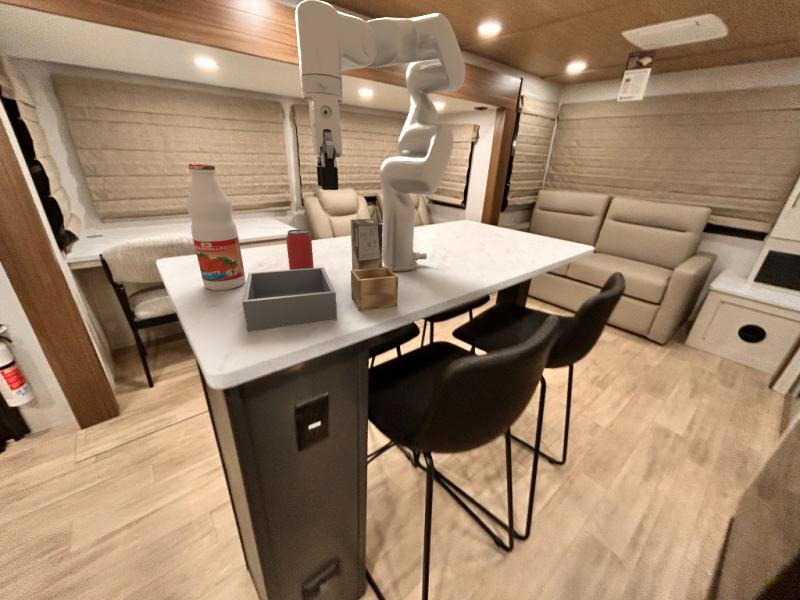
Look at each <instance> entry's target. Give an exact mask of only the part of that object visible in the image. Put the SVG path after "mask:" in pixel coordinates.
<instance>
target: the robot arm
mask: <svg viewBox="0 0 800 600" xmlns="http://www.w3.org/2000/svg"><path fill="white" fill-rule="evenodd" d="M295 24H296V37H297V38H296V39H297V52H298V64H299V75H300V88H301V99H302V100H304V101H305V102H308V107H309V108H308V109H309V110H308V111H309V120H310V133H311V141H312V148H313V155H314V156H315V157H316V165H317V166H316V177H317V178H316V179H317V186H319V187H321V189H322V190H323V191H338V190H339V172H338V171H339V168H338V164H337V162H338V161H337V158H339V159H340V158H341V157H342V156H343V141H342V130H341V117H340V116H341V115H340V113H341V112H340V107H339V104H342V103H343V99H344V98H343V71H350V70H352V71H353V70H358V69H378V68H379V69H380V68H385V67H386V68H387V67H394V66H400V65H405V64H407V65H408V64H409V65H408V67H407V69H406V72H405V84H406V89H407V97H408V101H409V112H408V114H407V117H406V120H405V121H404V124H403V126H402V130H401V132H400V135H399V136H398V140H397V145H396V146H397V152H398V154H399V155H394V156H390V157H388V158H385V160H384V161H382V164H381V166H380V169H379V179H380V186H381V193H382V225H383V226H382V268H387V267H388V268H389V269H390V270H391V271H393V272H408V271H412V270H415V269H417V266H418V262H417V261H419V260H427V257H428V255H427V253H426V252H421V253H420V252H419V251H418V252H416V251H414V235H415V234H414V233H415V219H416V218H415V217H416V208H415V204H414V201H413V199H412V197H411V194H412V195H422V196H423V195H424V196H425V195H426V196H427V195H428V196H429V195H433V194H434V193H436V191H437V190H438V189H439V187H440V185H441V183H442V179H443V177H444V175H445V171H446V169H447V167H448V164H449V160H450V159H451V155H452V152H453V149H454V147H453V146H454V134H453V131H452V128H451V127H450V125H448V124H446V123H443V122H437V121H438V111H437V109H436V106H435V104H434V103H433V102H432V100H431V99H430V97H429V95H430V94H431V95H432V94H443V93H444V94H445V93H452V92H457V91H458V90H460V89H461V88H462V86H463V85H464V82H465V79H466V64H465V60H464V57H463V53H462V50H461V48H460V46H459V43H458V40H457V37H456V34H455V31H454V29H453V27H452V25H451V23H450V21H449V19H448V18H447V17H446V16H445V15H444V14H443V13H440V12H435V13H431V14H426V15H422V16H416V17H408V18H407V17H401V18H400V17H381V18H380V17H379V18H374V19H371V20H367V21H366V20H364V19H362V18H360V17H357V16H355V15H350V14H347V13H344V12H341V11H338V10H337V9H336V8H335V7H334V6H333V5H332V4H329V3H328V2H325V1H322V0H302V1H301V2H299V3H298V5H296V10H295Z"/></svg>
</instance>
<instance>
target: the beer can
mask: <svg viewBox="0 0 800 600" xmlns="http://www.w3.org/2000/svg"><path fill="white" fill-rule="evenodd" d="M285 241H286V248H287V249H286V250H287V259H288V267H289V269H288V270H294V269H308V268H315V267H314V266H315V265H314V256H313V255H314V253H313V243H312V242H313V240H312V237H311V234H310V231H309V230H307V229H302V228H301V229H296V228H295V229H289V230H287V235H286V238H285Z"/></svg>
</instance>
